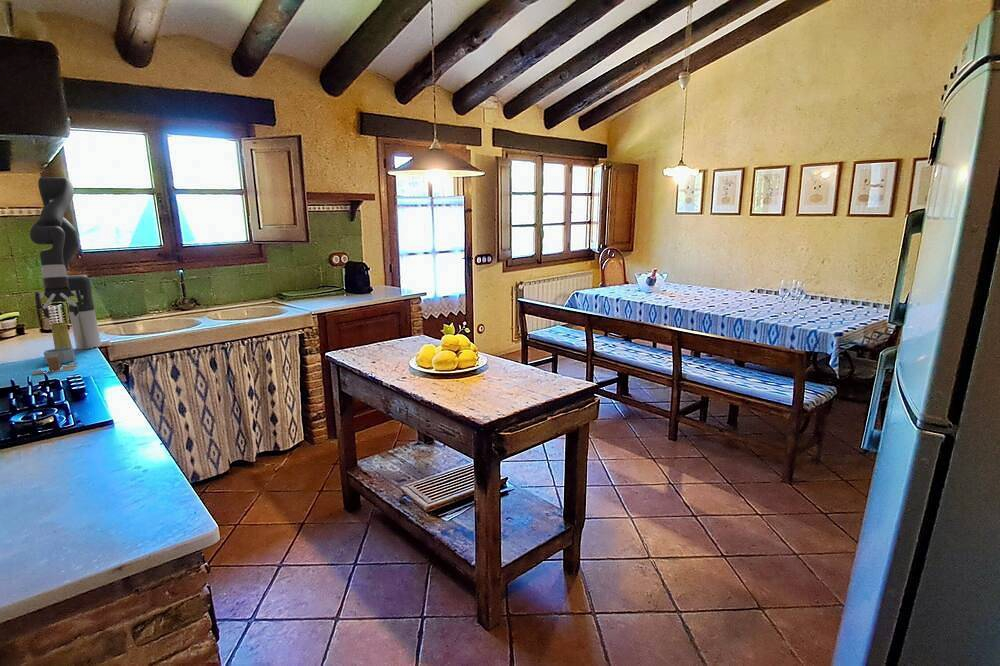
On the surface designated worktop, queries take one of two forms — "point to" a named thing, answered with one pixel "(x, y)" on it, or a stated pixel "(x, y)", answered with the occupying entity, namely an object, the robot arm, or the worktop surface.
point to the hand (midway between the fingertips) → (62, 317)
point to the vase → (60, 335)
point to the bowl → (61, 354)
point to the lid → (55, 365)
